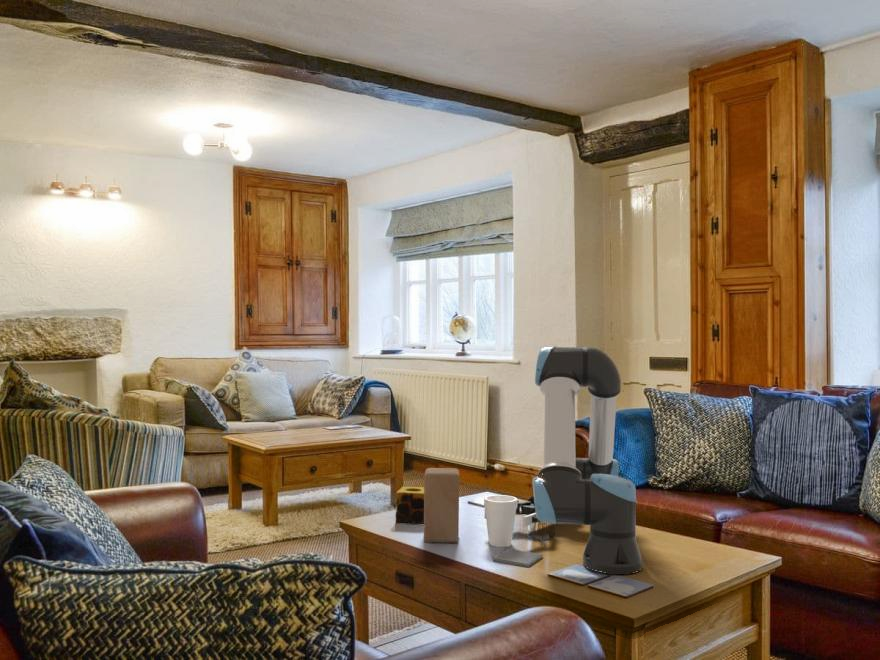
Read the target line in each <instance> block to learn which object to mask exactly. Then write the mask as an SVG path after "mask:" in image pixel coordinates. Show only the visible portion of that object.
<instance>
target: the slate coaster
mask: <svg viewBox="0 0 880 660" xmlns="http://www.w3.org/2000/svg"><path fill="white" fill-rule="evenodd" d="M543 555H544V554H542V553H538V552H530V551H525V550H518V549H511V548H508V549H506V550H504V551H502V552H500V553H499V554H497V555H496V556H494V557H493V562H497V563H503V564H509V565H514V566H521V567H526V568H529V567H531V566H532V565H533V564H535V563H536V562H539V560H541V559H542V558H543Z"/></svg>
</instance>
